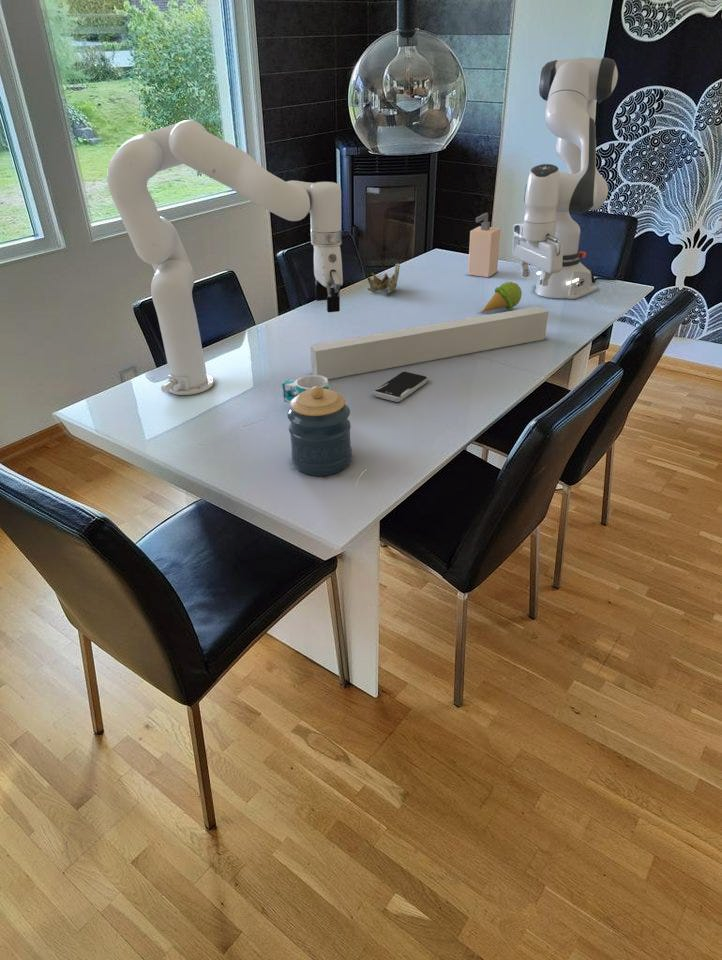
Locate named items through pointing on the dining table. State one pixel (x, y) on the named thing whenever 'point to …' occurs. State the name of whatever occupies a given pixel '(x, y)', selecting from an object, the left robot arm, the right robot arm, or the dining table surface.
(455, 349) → the post
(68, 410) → the dining table surface
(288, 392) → the mug
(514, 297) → the toy
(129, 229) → the left robot arm
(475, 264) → the soap dispenser
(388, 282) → the gold crown
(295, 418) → the canister
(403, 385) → the smartphone
